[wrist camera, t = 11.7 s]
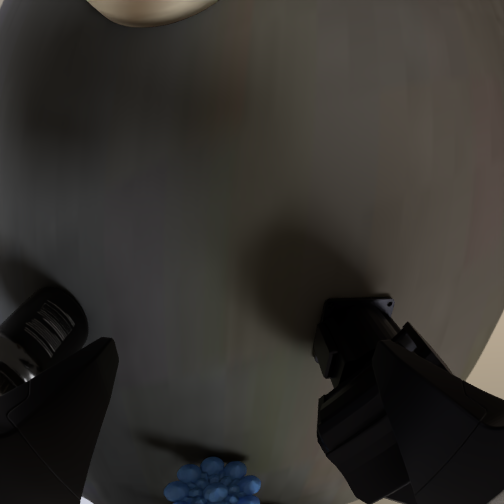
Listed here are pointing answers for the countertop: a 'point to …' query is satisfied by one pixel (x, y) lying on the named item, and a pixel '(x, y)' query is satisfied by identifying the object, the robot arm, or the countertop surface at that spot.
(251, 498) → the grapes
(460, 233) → the countertop surface
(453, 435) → the robot arm
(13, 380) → the supplement bottle
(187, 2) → the birch base
